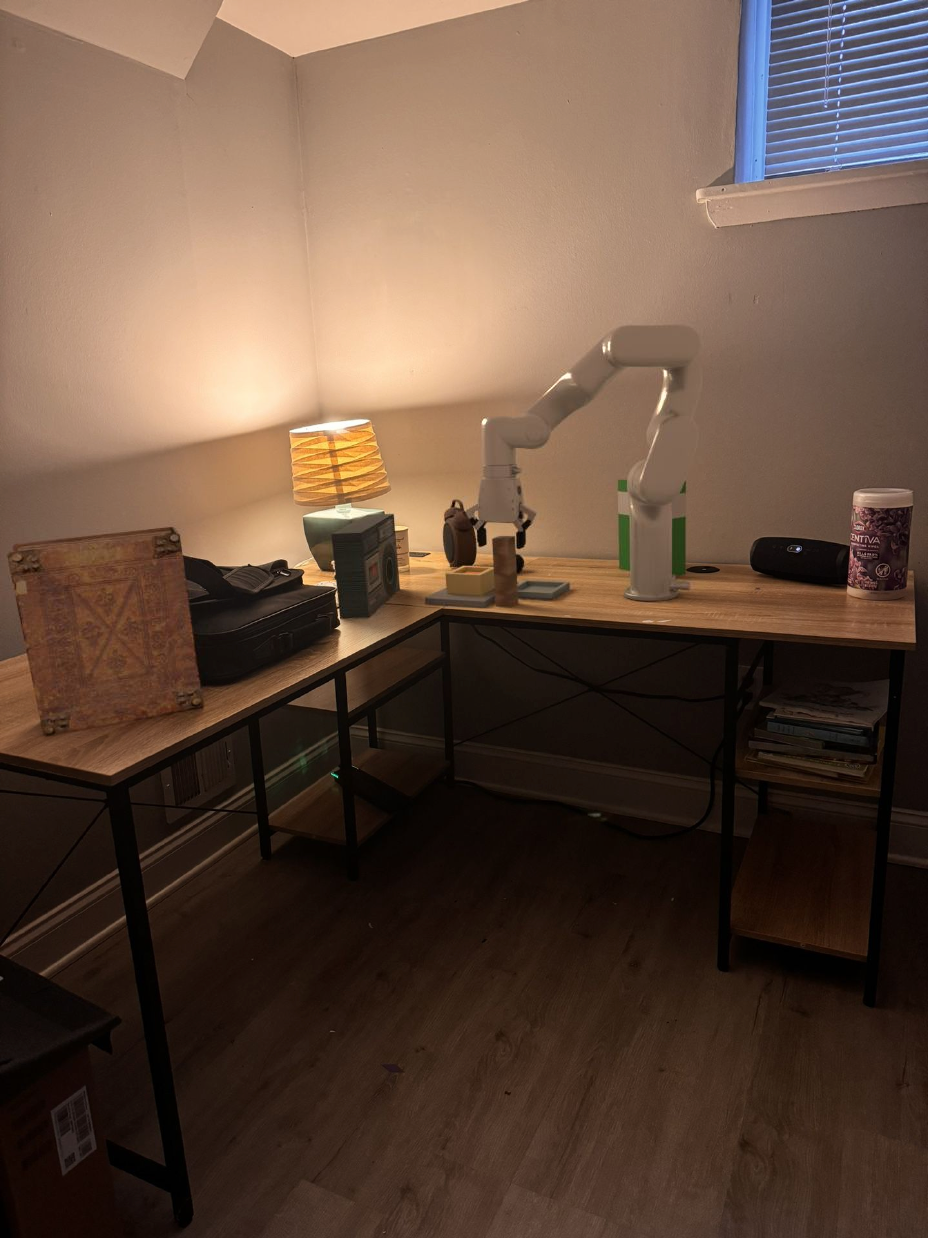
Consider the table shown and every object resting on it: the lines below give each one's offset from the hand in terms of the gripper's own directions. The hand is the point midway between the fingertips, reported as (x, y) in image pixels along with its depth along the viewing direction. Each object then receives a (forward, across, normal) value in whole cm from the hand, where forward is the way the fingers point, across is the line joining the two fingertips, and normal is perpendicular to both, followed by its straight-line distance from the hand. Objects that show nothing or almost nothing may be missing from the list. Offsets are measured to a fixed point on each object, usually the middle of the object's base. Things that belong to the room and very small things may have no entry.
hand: (501, 547), depth 199 cm
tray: (+14, -4, -12) cm, 19 cm away
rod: (+14, -1, 0) cm, 14 cm away
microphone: (+14, +15, -28) cm, 35 cm away
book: (+16, +32, +84) cm, 91 cm away
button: (+12, +11, -6) cm, 17 cm away
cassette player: (+15, +33, +6) cm, 37 cm away
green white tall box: (+13, -24, -42) cm, 50 cm away
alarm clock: (+14, +29, -34) cm, 47 cm away
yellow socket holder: (+14, +11, -6) cm, 19 cm away
